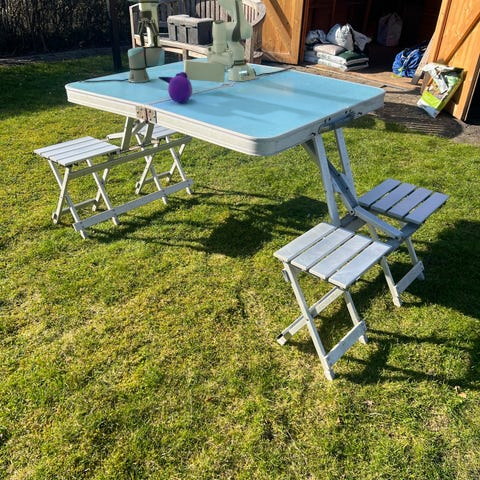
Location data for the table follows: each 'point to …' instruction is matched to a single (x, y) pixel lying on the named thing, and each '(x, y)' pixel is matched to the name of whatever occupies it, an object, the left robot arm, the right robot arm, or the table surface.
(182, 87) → the toy
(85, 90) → the table surface
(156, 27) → the left robot arm
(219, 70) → the box
